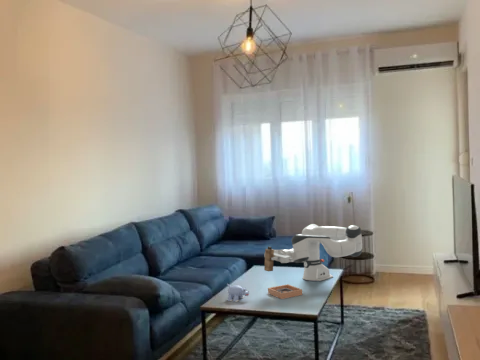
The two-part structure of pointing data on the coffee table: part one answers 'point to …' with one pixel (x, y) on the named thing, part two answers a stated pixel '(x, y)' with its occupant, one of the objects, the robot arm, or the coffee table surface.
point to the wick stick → (268, 262)
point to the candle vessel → (285, 291)
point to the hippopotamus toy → (236, 293)
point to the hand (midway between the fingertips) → (268, 257)
